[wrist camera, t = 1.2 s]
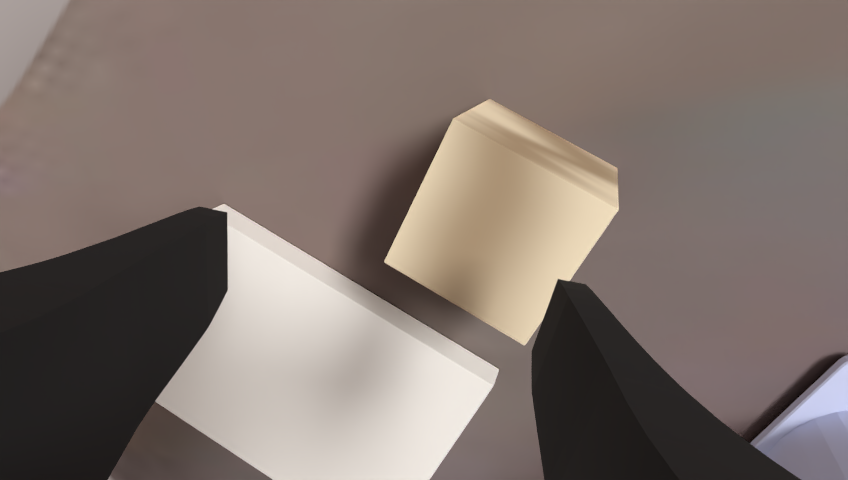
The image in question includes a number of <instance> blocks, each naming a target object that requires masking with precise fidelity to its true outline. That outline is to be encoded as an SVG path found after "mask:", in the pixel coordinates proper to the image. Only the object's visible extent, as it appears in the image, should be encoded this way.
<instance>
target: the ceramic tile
mask: <svg viewBox="0 0 848 480" xmlns="http://www.w3.org/2000/svg"><path fill="white" fill-rule="evenodd" d="M213 210H218V211H223V212H227V233H228V291H227V293H226V295H225V297H224V299H223V301H222V303H221V305H220V307H219V309H218V311H217V313H216V314H215V316H214V318H213V320H212V322H211V324H210V325H209V327H208V329H207V330H206V332H205V333H204V334H203V336H202V337H201V339H200V340H199V341H198V343H197V344H196V346H195V347H194V348H193V350H192V351H191V353H190V354H189V355H188V357H187V358H186V360H185V361H184V362H183V364H182V365H181V366H180V368H179V369H178V370H177V372H176V373H175V375H174V376H173V377H172V379H171V380H170V381H169V383H168V384H167V386H166V387H165V388H164V390H163V391H162V392H161V394H160V395H159V397H158V398H157V399H156V401H155V402H156V403H158V404H160V405H161V406H163V407H164V408H166V409H167V410H169V411H170V412H172V413H173V414H175V415H176V416H178V417H179V418H181V419H182V420H184V421H185V422H187V423H188V424H190V425H191V426H193V427H194V428H196V429H197V430H199V431H200V432H202V433H203V434H205V435H206V436H208V437H209V438H211V439H212V440H214V441H215V442H217V443H218V444H220V445H221V446H223V447H225V448H226V449H228V450H229V451H231V452H232V453H234V454H235V455H237V456H238V457H240V458H241V459H243V460H244V461H246V462H247V463H249V464H250V465H252V466H253V467H255V468H256V469H258V470H259V471H261V472H262V473H264V474H265V475H267V476H268V477H270V478H271V479H273V480H429V479H430V478H431V477H432V475H433V474H434V472H435V471H436V469H437V468H438V466H439V465H440V463H441V462H442V460H443V459H444V458H445V456H446V455H447V453H448V452H449V450H450V449H451V447H452V446H453V444H454V443H455V441H456V440H457V439H458V437H459V436H460V434H461V433H462V431H463V430H464V428H465V427H466V425H467V424H468V422H469V421H470V420H471V418H472V417H473V415H474V414H475V412H476V411H477V409H478V408H479V406H480V405H481V403H482V402H483V401H484V399H485V398H486V396H487V395H488V393H489V392H490V390H491V389H492V387H493V386H494V383H495V380H496V377H497V374H498V371H499V369H498V368H496V367H494V366H493V365H491V364H489V363H488V362H486V361H484V360H483V359H481V358H479V357H478V356H476V355H474V354H473V353H471V352H469V351H468V350H466V349H465V348H463V347H461V346H460V345H458V344H456V343H455V342H453V341H451V340H450V339H448V338H446V337H445V336H443V335H441V334H440V333H438V332H436V331H435V330H433V329H431V328H430V327H428V326H426V325H425V324H423V323H421V322H420V321H418V320H416V319H415V318H413V317H411V316H410V315H408V314H406V313H405V312H403V311H401V310H400V309H398V308H396V307H395V306H393V305H391V304H390V303H388V302H386V301H385V300H383V299H381V298H380V297H378V296H376V295H375V294H373V293H371V292H370V291H368V290H367V289H365V288H363V287H362V286H360V285H358V284H357V283H355V282H353V281H352V280H350V279H348V278H347V277H345V276H343V275H342V274H340V273H338V272H337V271H335V270H333V269H332V268H330V267H328V266H327V265H325V264H323V263H322V262H320V261H318V260H317V259H315V258H313V257H312V256H310V255H308V254H307V253H305V252H303V251H302V250H300V249H298V248H297V247H295V246H293V245H292V244H290V243H288V242H287V241H285V240H283V239H282V238H280V237H278V236H277V235H275V234H273V233H272V232H270V231H269V230H267V229H265V228H264V227H262V226H260V225H259V224H257V223H255V222H254V221H252V220H250V219H249V218H247V217H245V216H244V215H242V214H240V213H239V212H237V211H235V210H234V209H232V208H230V207H229V206H227V205H225V204H223V205H220V206H218V207H216V208H213Z"/></svg>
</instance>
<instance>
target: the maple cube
mask: <svg viewBox="0 0 848 480" xmlns="http://www.w3.org/2000/svg"><path fill="white" fill-rule="evenodd" d="M618 210H619V204H618V174H617V168H616V167H614V166H612V165H611V164H609V163H607V162H605V161H603V160H601V159H599V158H598V157H596V156H594V155H592V154H590V153H588V152H587V151H585V150H583V149H581V148H579V147H577V146H576V145H574V144H572V143H570V142H568V141H566V140H564V139H563V138H561V137H559V136H557V135H555V134H553V133H552V132H550V131H548V130H546V129H544V128H542V127H541V126H539V125H537V124H535V123H533V122H531V121H529V120H528V119H526V118H524V117H522V116H520V115H518V114H517V113H515V112H513V111H511V110H509V109H507V108H505V107H504V106H502V105H500V104H498V103H496V102H494V101H493V100H491V99H489V100H487V101H485V102H483V103H481V104H479V105H477V106H476V107H474V108H472V109H470V110H468V111H466V112H464V113H462V114H461V115H459V116H457V117H455V118H453V120H452V122H451V124H450V126H449V128H448V130H447V132H446V134H445V137H444V139H443V141H442V143H441V145H440V147H439V149H438V151H437V153H436V155H435V157H434V159H433V161H432V163H431V166H430V168H429V170H428V172H427V174H426V176H425V178H424V180H423V182H422V184H421V186H420V188H419V190H418V192H417V194H416V197H415V199H414V201H413V203H412V205H411V207H410V209H409V211H408V213H407V215H406V217H405V219H404V221H403V223H402V226H401V228H400V230H399V232H398V234H397V236H396V238H395V240H394V242H393V244H392V246H391V248H390V250H389V252H388V255H387V257H386V259H385V261H384V262H385V263H386V264H388V265H390V266H391V267H393V268H395V269H396V270H398V271H400V272H401V273H403V274H405V275H406V276H408V277H410V278H412V279H413V280H415V281H417V282H418V283H420V284H422V285H423V286H425V287H427V288H428V289H430V290H432V291H433V292H435V293H437V294H438V295H440V296H442V297H444V298H445V299H447V300H449V301H450V302H452V303H454V304H455V305H457V306H459V307H460V308H462V309H464V310H465V311H467V312H469V313H470V314H472V315H474V316H476V317H477V318H479V319H481V320H482V321H484V322H486V323H487V324H489V325H491V326H492V327H494V328H496V329H497V330H499V331H501V332H502V333H504V334H506V335H508V336H509V337H511V338H513V339H514V340H516V341H518V342H519V343H521V344H523V345H524V346H525V345H526V343H527V342H528V340H529V339H530V337H531V336H532V334H533V333H534V332H535V330H536V329H537V327H538V326H539V324H540V323H541V321H542V320H543V318H544V316H545V313H546V310H547V308H548V305H549V302H550V299H551V297H552V294H553V291H554V288H555V285H556V283H557V280H558V279H561V280H566V281H570V279H571V278H572V277H573V275H574V274H575V272H576V271H577V269H578V268H579V266H580V265H581V263H582V262H583V261H584V259H585V258H586V256H587V255H588V253H589V252H590V250H591V249H592V248H593V246H594V245H595V243H596V242H597V240H598V239H599V237H600V236H601V235H602V233H603V232H604V230H605V229H606V227H607V226H608V224H609V223H610V222H611V220H612V219H613V217H614V216H615V214H616V213H617V211H618Z"/></svg>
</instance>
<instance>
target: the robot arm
mask: <svg viewBox="0 0 848 480" xmlns="http://www.w3.org/2000/svg"><path fill="white" fill-rule="evenodd" d="M227 291H228V233H227V212H223V211H218V210H213V209H208V208H203V207H197V208H193V209H190V210H187V211H184V212H181V213H178V214H175V215H173V216H170V217H168V218H165V219H162V220H160V221H157V222H155V223H152V224H149V225H147V226H144V227H142V228H139V229H136V230H134V231H131V232H129V233H126V234H123V235H121V236H118V237H115V238H113V239H110V240H107V241H104V242H101V243H98V244H95V245H92V246H89V247H86V248H83V249H80V250H78V251H75V252H72V253H69V254H66V255H63V256H59V257H56V258H53V259H49V260H46V261H42V262H39V263H35V264H32V265H28V266H24V267H20V268H16V269H12V270H8V271H4V272H0V480H108V478H109V476H110V474H111V472H112V470H113V469H114V467H115V465H116V464H117V462H118V460H119V458H120V457H121V455H122V453H123V451H124V450H125V448H126V446H127V444H128V443H129V441H130V439H131V437H132V436H133V434H134V432H135V431H136V429H137V427H138V426H139V424H140V423H141V421H142V420H143V418H144V417H145V415H146V414H147V412H148V410H149V409H150V407H151V406H152V405H153V403H154V402H155V401H156V399H157V398H158V397H159V395H160V394H161V392H162V391H163V390H164V388H165V387H166V386H167V384H168V383H169V381H170V380H171V379H172V377H173V376H174V375H175V373H176V372H177V370H178V369H179V368H180V366H181V365H182V364H183V362H184V361H185V360H186V358H187V357H188V355H189V354H190V353H191V351H192V350H193V348H194V347H195V346H196V344H197V343H198V341H199V340H200V339H201V337H202V336H203V334H204V333H205V332H206V330H207V329H208V327H209V325H210V324H211V322H212V320H213V318H214V316H215V314H216V313H217V311H218V309H219V307H220V305H221V303H222V301H223V299H224V297H225V295H226V293H227ZM532 396H533V404H534V411H535V418H536V425H537V432H538V439H539V445H540V452H541V459H542V466H543V472H544V479H545V480H848V355H847V356H844V357H842V358H840V359H839V360H838V361H837V362H836V363H835V364H834V365H832V366H831V367H830V368H829V369H828V370H827V371H826V372H825V373H824V374H823V375H822V376H821V377H820V378H819V379H818V380H817V381H815V382H814V383H813V384H812V385H811V386H810V387H809V388H808V389H807V390H806V391H805V392H804V393H803V394H802V395H801V396H800V397H798V398H797V399H796V400H795V401H794V402H793V403H792V404H791V405H790V406H789V407H788V408H787V409H786V410H785V411H784V412H783V413H781V414H780V415H779V416H778V417H777V418H776V419H775V420H774V421H773V422H772V423H771V424H770V425H769V426H768V427H767V428H766V429H764V430H763V431H762V432H761V433H760V434H759V435H758V436H757V437H756V438H755V439H754V440H753V441H752V442H751V443H749V442H747V441H746V440H744V439H743V438H742V437H740V436H739V435H738V434H736V433H735V432H734V431H733V430H731V429H730V428H729V427H728V426H726V425H725V424H724V423H722V422H721V421H720V420H719V419H717V418H716V417H715V416H714V415H713V414H712V413H710V412H709V411H708V410H707V409H706V408H705V407H703V406H702V405H701V404H700V403H699V402H698V401H696V400H695V399H694V398H693V397H692V396H691V395H690V394H688V393H687V392H686V391H685V390H684V389H683V388H682V387H681V386H680V385H679V384H678V383H677V382H676V381H675V380H674V379H673V378H672V377H671V376H670V375H669V374H667V373H666V372H665V371H664V370H663V369H662V368H661V367H660V366H659V365H658V364H657V363H656V362H655V361H654V360H653V358H652V357H651V356H650V355H649V354H648V353H647V352H646V351H645V350H644V349H643V348H642V347H641V346H640V345H639V344H638V342H637V341H636V340H635V339H634V338H633V337H632V336H631V335H630V334H629V332H628V331H627V330H626V329H625V328H624V327H623V326H622V324H621V323H620V322H619V321H618V320H617V319H616V318H615V316H614V315H613V314H612V313H611V312H610V311H609V309H608V308H607V307H606V306H605V305H604V304H603V303H602V301H601V300H600V299H599V298H598V297H597V296H596V295H595V293H594V292H593V291H592V290H591V289H590V288H589V287H588V286H587V285H585V284H581V283H576V282H571V281H566V280H561V279H558V280H557V283H556V285H555V288H554V291H553V294H552V297H551V299H550V302H549V305H548V308H547V310H546V313H545V316H544V319H543V322H542V324H541V327H540V330H539V333H538V335H537V338H536V341H535V344H534V347H533V349H532Z"/></svg>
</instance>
